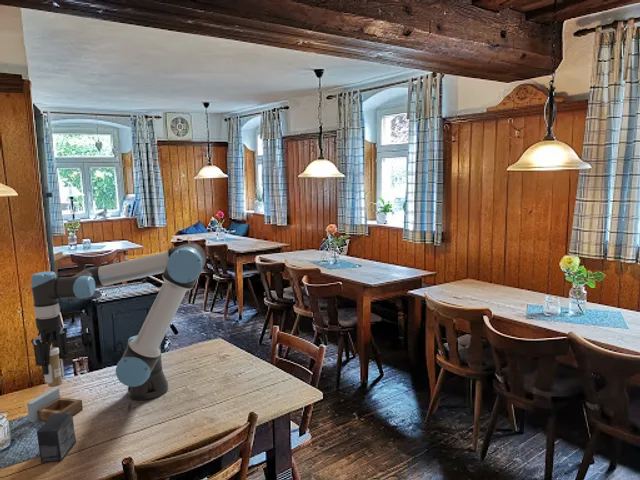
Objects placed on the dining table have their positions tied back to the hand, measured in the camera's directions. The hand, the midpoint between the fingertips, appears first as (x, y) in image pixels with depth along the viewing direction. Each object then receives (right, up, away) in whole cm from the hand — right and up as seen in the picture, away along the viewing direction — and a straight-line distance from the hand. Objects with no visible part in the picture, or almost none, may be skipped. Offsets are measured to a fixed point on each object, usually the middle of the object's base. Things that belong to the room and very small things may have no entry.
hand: (54, 378), depth 165 cm
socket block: (+1, -14, +2) cm, 14 cm away
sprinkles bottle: (0, -2, 0) cm, 2 cm away
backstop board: (-5, -14, +3) cm, 15 cm away
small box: (+13, -17, -21) cm, 30 cm away
